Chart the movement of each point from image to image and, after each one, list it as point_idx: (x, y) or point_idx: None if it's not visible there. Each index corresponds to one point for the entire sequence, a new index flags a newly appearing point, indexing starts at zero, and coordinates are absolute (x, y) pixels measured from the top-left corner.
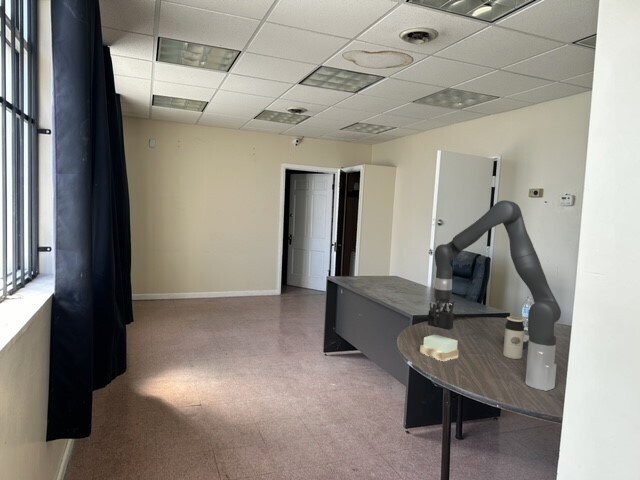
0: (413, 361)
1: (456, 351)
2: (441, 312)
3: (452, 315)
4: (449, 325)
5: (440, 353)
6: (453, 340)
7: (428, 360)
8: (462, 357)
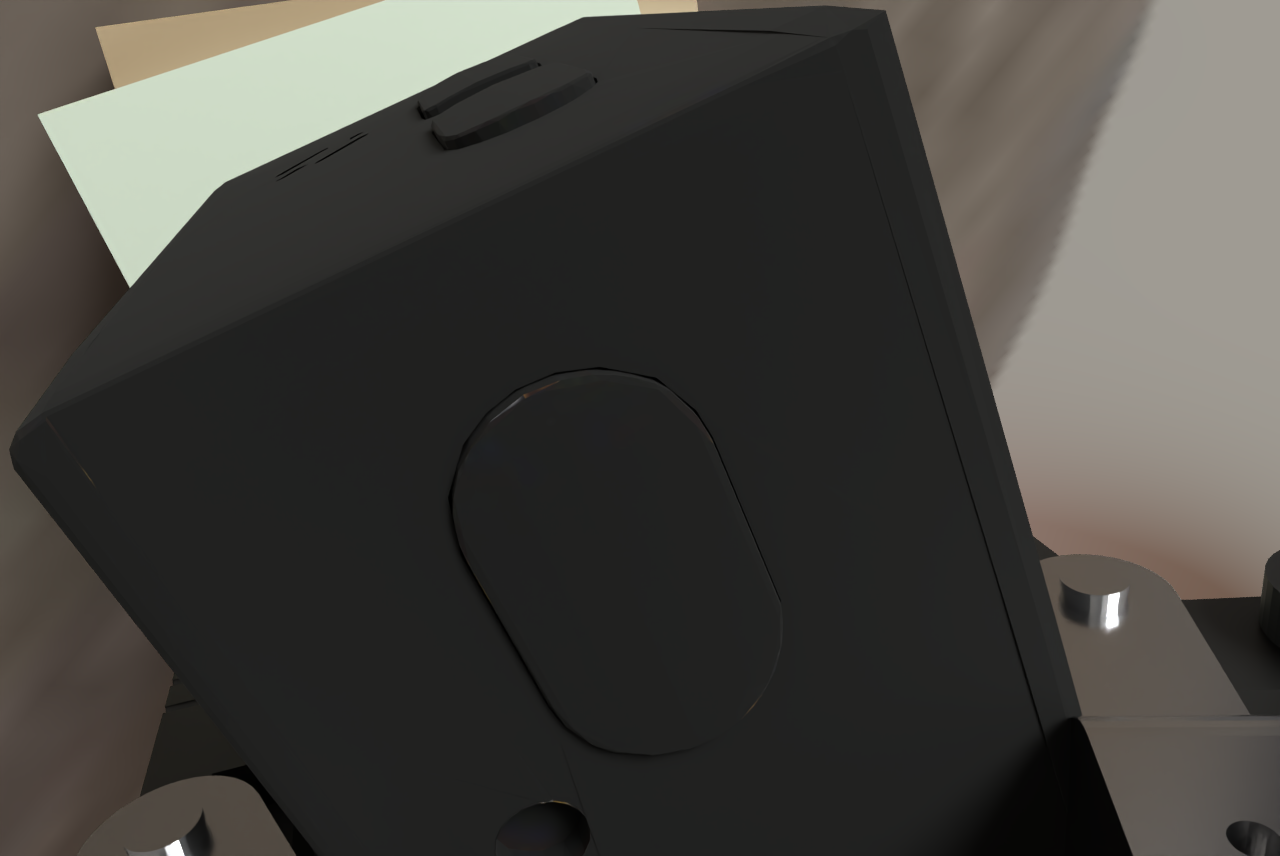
0: (1083, 142)
1: (186, 16)
2: (937, 824)
3: (336, 242)
4: (612, 22)
5: (694, 4)
6: (169, 175)
7: None
8: (9, 7)
